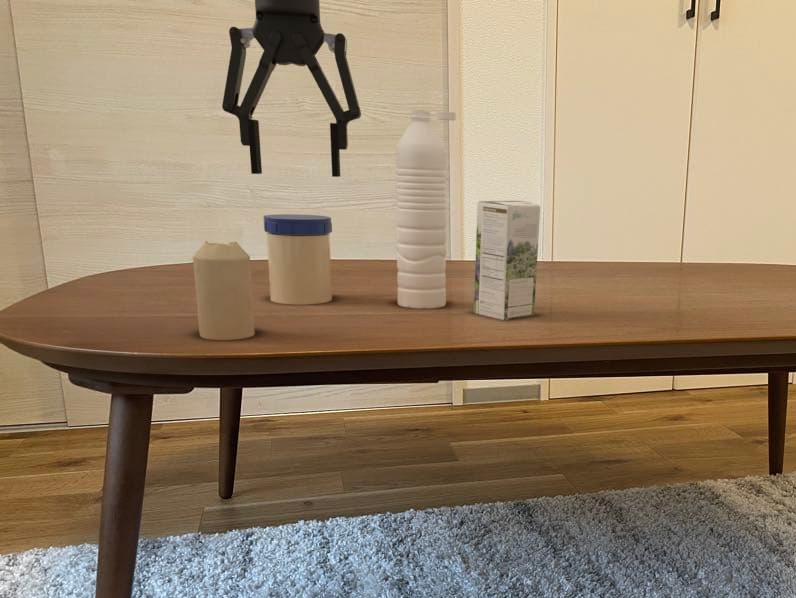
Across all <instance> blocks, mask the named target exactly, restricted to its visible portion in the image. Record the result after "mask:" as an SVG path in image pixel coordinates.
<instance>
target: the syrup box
mask: <svg viewBox="0 0 796 598" xmlns="http://www.w3.org/2000/svg"><path fill="white" fill-rule="evenodd" d="M476 208H477V209H476V211H477V212H476V239H475V264H474V265H475V269H474V297H473V298H474V299H473V314H476V315H480V316H484V317H488V318H492V319H497V320H501V321H509V320H514V319H521V318H526V317H527V318H528V317H533V316H534V315H535V309H536V308H535V307H536V287H537V274H538V273H537V272H538V271H537V269H538V257H539V254H538V253H539V251H538V250H539V236H540V219H541V205H540V204H538V203H534V202H531V201H526V200H479V201H477V205H476Z"/></svg>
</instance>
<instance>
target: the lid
mask: <svg viewBox="0 0 796 598" xmlns="http://www.w3.org/2000/svg"><path fill="white" fill-rule="evenodd" d="M332 225H333V223H332V217H330V216H328V215H327V216H325V215H319V214H318V215H315V214H297V213H296V214H294V213H293V214H291V213H289V214H285V213H284V214H266V215H263V230H264V233H267V232H269V233H276V234H293V235H315V234H328V233H329V234H331V233H332V232H333V226H332Z"/></svg>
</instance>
